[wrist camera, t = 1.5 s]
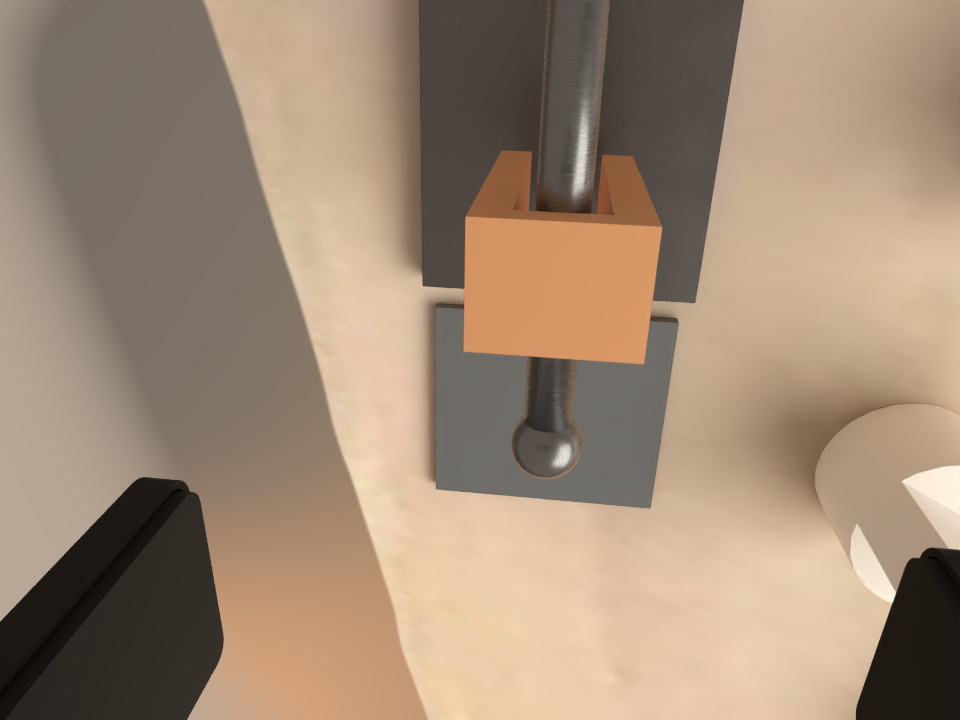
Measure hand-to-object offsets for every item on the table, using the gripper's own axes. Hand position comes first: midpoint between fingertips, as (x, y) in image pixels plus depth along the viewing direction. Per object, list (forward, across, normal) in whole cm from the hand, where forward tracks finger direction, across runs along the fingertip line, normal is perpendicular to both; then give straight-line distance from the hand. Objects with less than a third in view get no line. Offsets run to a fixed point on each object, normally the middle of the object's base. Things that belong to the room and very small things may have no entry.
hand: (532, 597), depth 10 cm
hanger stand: (+29, 0, -4) cm, 30 cm away
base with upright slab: (+30, -20, +16) cm, 39 cm away
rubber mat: (+29, 0, +13) cm, 32 cm away
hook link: (+22, 0, 0) cm, 22 cm away
